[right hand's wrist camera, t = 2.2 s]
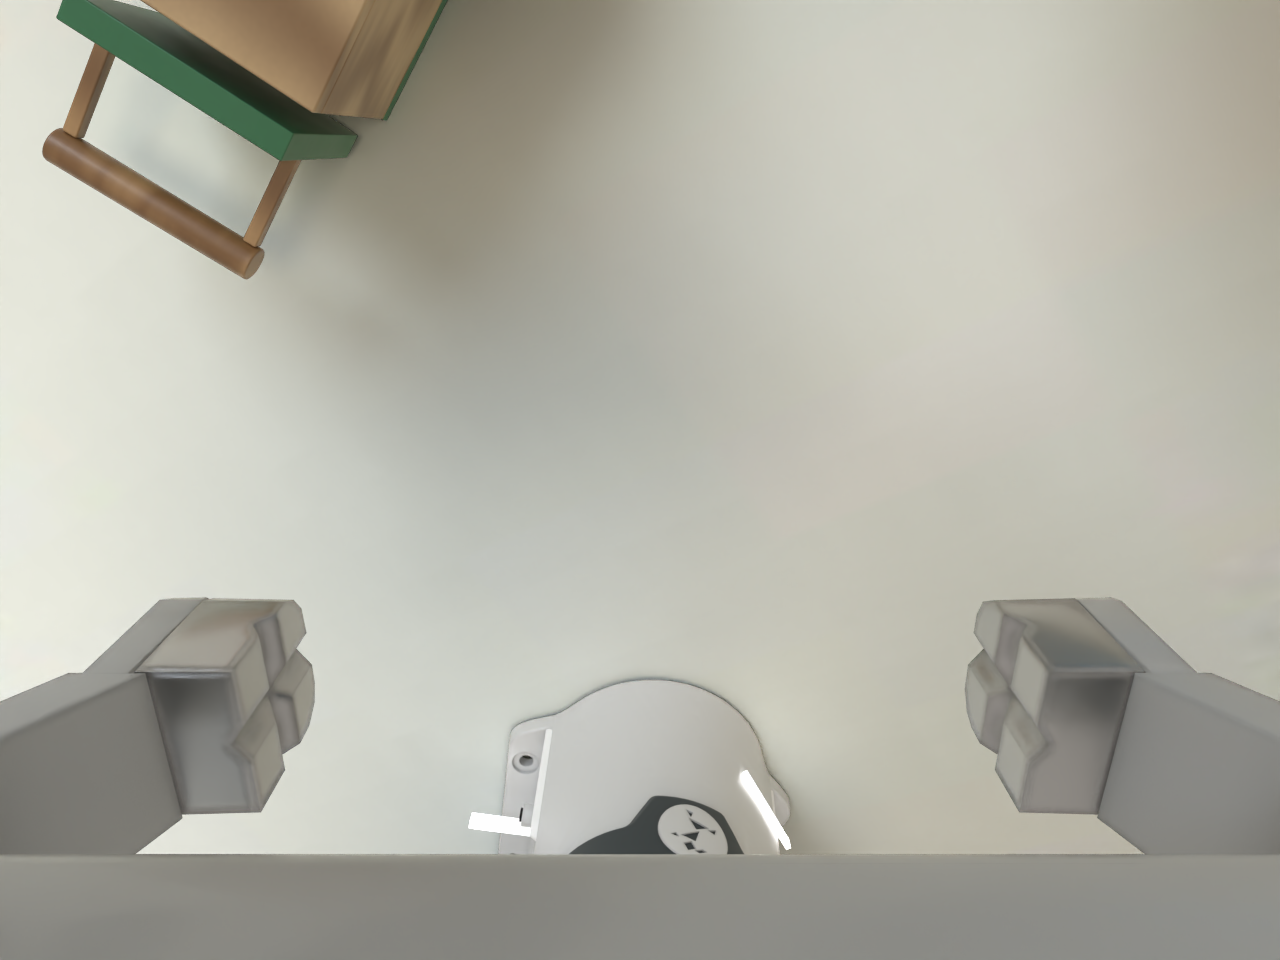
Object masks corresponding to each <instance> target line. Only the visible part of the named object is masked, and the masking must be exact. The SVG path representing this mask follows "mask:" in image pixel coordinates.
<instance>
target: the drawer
mask: <svg viewBox="0 0 1280 960" xmlns="http://www.w3.org/2000/svg"><path fill="white" fill-rule="evenodd" d="M57 19H58V20H60V21H61V22H63V23H64V24H66V25H67V26H69V27H71V28H72V29H74V30H75V31H77V32H78V33H80V34H82V35H83V36H85V37H86V38H88V39H89V40H91V41H93V42H94V43H95V44H94V47H93V49H92V52H91V55H90V57H89V60H88V63H87V65H86V68H85V71H84V73H83V76H82V79H81V81H80V84H79V87H78V89H77V92H76V95H75V97H74V100H73V103H72V105H71V108H70V111H69V113H68V116H67V119H66V121H65V124H64V127H63V128H59V129H56V130H55V131H53V132H52V133H51V134H50V135H49V136H48V137H47V139H46V141H45V143H44V146H43V156H44V158H45V159H46V160H47V161H49V162H50V163H52V164H54V165H55V166H57V167H59V168H60V169H62V170H64V171H65V172H67V173H69V174H70V175H72V176H74V177H75V178H77V179H79V180H80V181H82V182H84V183H85V184H87V185H89V186H90V187H92V188H94V189H95V190H97V191H99V192H100V193H102V194H104V195H105V196H107V197H109V198H110V199H112V200H114V201H115V202H117V203H119V204H120V205H122V206H124V207H125V208H127V209H129V210H130V211H132V212H134V213H135V214H137V215H139V216H140V217H142V218H144V219H145V220H147V221H149V222H150V223H152V224H154V225H155V226H157V227H159V228H160V229H162V230H164V231H165V232H167V233H169V234H170V235H172V236H174V237H175V238H177V239H179V240H180V241H182V242H184V243H185V244H187V245H189V246H190V247H192V248H194V249H195V250H197V251H199V252H200V253H202V254H204V255H205V256H207V257H209V258H210V259H212V260H214V261H215V262H217V263H219V264H220V265H222V266H224V267H225V268H227V269H229V270H230V271H232V272H234V273H235V274H237V275H239V276H240V277H242V278H244V279H249V278H250V277H251V276H253V275H254V273H255V272H256V271H257V270H258V268H259V267H260V265H261V263H262V260H263V258H264V250H263V249H262V248H260V247H258V246H260V245H261V244H262V242H263V239H264V237H265V235H266V233H267V231H268V229H269V227H270V225H271V223H272V221H273V219H274V216H275V214H276V212H277V210H278V208H279V206H280V204H281V202H282V200H283V198H284V195H285V193H286V191H287V189H288V187H289V185H290V183H291V181H292V179H293V177H294V174H295V172H296V170H297V168H298V166H299V164H300V162H301V160H309V159H329V158H347V157H348V154H349V152H350V150H351V148H352V146H353V144H354V142H355V140H356V138H357V134H355V133H354V132H352V131H351V130H349V129H348V128H346V127H344V126H343V125H341V124H340V123H338V122H337V121H335V120H334V119H332V118H331V117H329V116H328V115H326V114H321V113H313V112H311V111H309V110H308V109H306V108H304V107H303V106H301V105H300V104H298V103H297V102H295V101H294V100H292V99H291V98H289V97H288V96H286V95H285V94H283V93H282V92H280V91H279V90H277V89H275V88H274V87H272V86H271V85H269V84H268V83H266V82H265V81H263V80H262V79H260V78H259V77H257V76H256V75H254V74H253V73H251V72H249V71H248V70H246V69H245V68H243V67H242V66H240V65H239V64H237V63H236V62H234V61H233V60H231V59H230V58H228V57H227V56H225V55H223V54H222V53H220V52H219V51H217V50H216V49H214V48H213V47H211V46H210V45H208V44H207V43H205V42H204V41H202V40H201V39H199V38H198V37H196V36H194V35H193V34H191V33H190V32H188V31H187V30H185V29H184V28H182V27H181V26H179V25H178V24H176V23H175V22H173V21H172V20H170V19H168V18H167V17H165V16H164V15H162V14H161V13H159V12H155V11H151V10H148V9H144V8H140V7H137V6H133V5H129V4H126V3H122V2H118V1H115V0H63V1H62V3H61V6H60V9H59V12H58V15H57ZM115 56H116V57H118V58H119V59H121V60H122V61H124V62H126V63H127V64H129V65H130V66H132V67H133V68H135V69H137V70H138V71H140V72H141V73H143V74H144V75H146V76H148V77H149V78H151V79H152V80H154V81H155V82H157V83H159V84H160V85H162V86H163V87H165V88H166V89H168V90H170V91H171V92H173V93H174V94H176V95H177V96H179V97H181V98H182V99H184V100H185V101H187V102H188V103H190V104H192V105H193V106H195V107H196V108H198V109H199V110H201V111H203V112H204V113H206V114H207V115H209V116H210V117H212V118H214V119H215V120H217V121H218V122H220V123H221V124H223V125H225V126H226V127H228V128H229V129H231V130H232V131H234V132H236V133H237V134H239V135H240V136H242V137H243V138H245V139H247V140H248V141H250V142H251V143H253V144H255V145H256V146H258V147H259V148H261V149H262V150H264V151H266V152H267V153H269V154H270V155H272V156H273V157H275V158H277V159H278V160H280V161H279V163H278V166H277V168H276V170H275V172H274V174H273V176H272V178H271V181H270V183H269V185H268V187H267V189H266V191H265V193H264V195H263V198H262V200H261V202H260V204H259V206H258V208H257V210H256V213H255V215H254V217H253V219H252V221H251V223H250V225H249V227H248V230H247V232H246V234H245V236H244V237H242V236H240V235H239V234H237V233H235V232H234V231H232V230H230V229H229V228H227V227H226V226H224V225H222V224H221V223H219V222H217V221H216V220H214V219H212V218H211V217H209V216H208V215H206V214H204V213H203V212H201V211H199V210H198V209H196V208H194V207H193V206H191V205H190V204H188V203H186V202H185V201H183V200H181V199H180V198H178V197H176V196H175V195H173V194H172V193H170V192H168V191H167V190H165V189H163V188H162V187H160V186H158V185H157V184H155V183H153V182H152V181H150V180H149V179H147V178H145V177H144V176H142V175H140V174H139V173H137V172H135V171H134V170H132V169H131V168H129V167H127V166H126V165H124V164H122V163H121V162H119V161H117V160H116V159H114V158H113V157H111V156H109V155H108V154H106V153H104V152H103V151H101V150H99V149H98V148H96V147H95V146H93V145H91V144H90V143H88V142H86V141H85V140H83V139H81V138H84V136H85V134H86V131H87V129H88V126H89V123H90V121H91V118H92V116H93V113H94V110H95V108H96V105H97V103H98V100H99V97H100V95H101V92H102V90H103V87H104V84H105V82H106V79H107V77H108V74H109V71H110V69H111V66H112V64H113V61H114V58H115Z"/></svg>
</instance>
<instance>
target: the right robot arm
mask: <svg viewBox="0 0 1280 960" xmlns="http://www.w3.org/2000/svg"><path fill="white" fill-rule="evenodd" d="M305 634H306V629H305V624H304V619H303V614H302V610H301V608H300V607H299V605H298V604H297V603H296V602H295V601H294V600H273V599H220V598H212V599H208V598H171V599H163V600H159V601H158V602H157V603H156V604H155V605H154V606H153V607H152V608H151V609H150V610H149V611H148V612H147V613H145V614H144V615H143V616H142V617H141V618H140V619H139V620H138V621H137V622H136V623H135V624H134V625H133V626H132V627H131V628H130V629H129V630H128V631H126V632H125V633H124V634H123V635H122V636H121V637H120V638H119V639H118V640H117V641H116V642H115V643H114V644H113V645H112V646H111V647H110V648H109V649H107V650H106V651H105V652H104V653H103V654H102V655H101V656H100V657H99V658H98V659H97V660H96V661H95V662H94V663H93V664H92V665H91V666H89V667H88V668H87V669H86V670H85V671H84V672H83V673H68V674H65V675H63V676H60V677H58V678H56V679H53V680H51V681H48V682H46V683H44V684H41V685H39V686H36V687H34V688H32V689H29V690H27V691H24V692H22V693H20V694H17V695H15V696H13V697H10V698H8V699H5V700H3V701H1V702H0V960H1280V702H1279V701H1277V700H1274V699H1272V698H1270V697H1267V696H1265V695H1263V694H1260V693H1258V692H1255V691H1253V690H1251V689H1248V688H1246V687H1243V686H1241V685H1239V684H1236V683H1234V682H1232V681H1229V680H1227V679H1224V678H1222V677H1220V676H1217V675H1215V674H1212V673H1197V672H1196V671H1195V670H1194V669H1193V668H1192V667H1191V666H1190V665H1188V664H1187V663H1186V662H1185V661H1184V660H1183V659H1182V658H1181V657H1180V656H1179V655H1178V654H1177V653H1176V652H1175V651H1174V650H1173V649H1172V648H1171V647H1169V646H1168V645H1167V644H1166V643H1165V642H1164V641H1163V640H1162V639H1161V638H1160V637H1159V636H1158V635H1157V634H1156V633H1155V632H1154V631H1153V630H1152V629H1151V628H1149V627H1148V626H1147V625H1146V624H1145V623H1144V622H1143V621H1142V620H1141V619H1140V618H1139V617H1138V616H1137V615H1136V614H1135V613H1134V612H1133V611H1132V610H1131V609H1129V608H1128V607H1127V606H1126V605H1125V604H1124V603H1123V602H1122V601H1120V600H1117V599H1114V598H1111V597H1105V598H1082V599H1075V598H1072V599H1031V600H993V601H985V602H983V603H982V605H981V607H980V609H979V611H978V613H977V617H976V623H975V628H974V634H975V636H976V637H977V639H978V640H979V642H980V643H981V645H982V646H983V648H984V649H983V650H982V651H981V652H980V653H979V654H978V655H977V656H976V657H975V658H974V659H973V660H972V661H971V662H970V663H969V664H968V670H967V677H966V685H965V695H966V707H967V714H968V717H969V720H970V723H971V727H972V729H973V731H974V733H975V735H976V737H977V739H978V740H979V742H980V743H981V744H982V745H984V746H985V747H987V748H988V749H990V750H992V751H993V752H995V753H996V754H998V756H997V762H996V767H995V771H996V773H997V774H998V776H999V778H1000V779H1001V781H1002V783H1003V785H1004V786H1005V788H1006V790H1007V792H1008V793H1009V795H1010V797H1011V799H1012V800H1013V802H1014V804H1015V806H1016V807H1017V809H1018V811H1019V812H1026V813H1063V814H1098V817H1097V818H1098V819H1100V820H1101V821H1102V822H1103V823H1105V824H1106V825H1107V826H1109V827H1110V828H1111V829H1113V830H1114V831H1115V832H1117V833H1118V834H1119V835H1121V836H1122V837H1123V838H1125V839H1126V840H1127V841H1128V842H1130V843H1131V844H1132V845H1134V846H1135V847H1136V848H1138V849H1139V850H1140V851H1142V852H1143V853H1144V854H780V852H779V842H778V837H779V839H780V840H781V842H782V843H783V845H784V847H785V848H786V850H787V849H789V848H791V846H790V841H789V838H788V837H787V835H786V834H785V832H784V830H783V829H782V827H783V826H784V825H785V823H786V822H787V821H788V819H789V817H790V802H789V798H788V796H787V794H786V793H785V791H784V790H783V789H782V787H781V786H780V785H779V784H778V783H777V782H776V781H775V780H774V779H773V777H772V776H771V775H770V774H769V772H768V770H767V768H766V765H765V762H764V758H763V754H762V750H761V746H760V744H759V741H758V739H757V736H756V735H755V733H754V731H753V729H752V728H751V726H750V725H749V723H748V722H747V721H746V720H745V718H744V717H743V716H742V715H741V714H740V713H739V712H738V711H737V710H736V709H735V708H734V707H732V706H731V705H730V704H728V703H727V702H726V701H724V700H723V699H721V698H719V697H718V696H716V695H714V694H712V693H710V692H708V691H706V690H703V689H701V688H698V687H695V686H692V685H689V684H685V683H680V682H675V681H668V680H637V681H629V682H624V683H619V684H615V685H612V686H609V687H606V688H603V689H601V690H598V691H596V692H594V693H592V694H590V695H588V696H586V697H584V698H583V699H581V700H580V701H578V702H577V703H575V704H574V705H572V706H570V707H569V708H567V709H566V710H564V711H562V712H560V713H558V714H556V715H551V716H546V717H541V718H537V719H533V720H529V721H526V722H523V723H520V724H518V725H517V726H515V727H514V728H513V729H512V731H511V733H510V736H509V745H508V756H507V766H506V776H505V787H504V797H503V808H502V816H495V815H487V814H479V813H472V815H471V819H470V823H469V828H471V829H479V830H487V831H495V832H500V839H499V849H498V854H136V853H137V852H139V851H140V850H141V849H143V848H144V847H145V846H147V845H148V844H149V843H150V842H152V841H153V840H154V839H156V838H157V837H158V836H160V835H161V834H162V833H164V832H165V831H166V830H168V829H169V828H170V827H172V826H173V825H174V824H176V823H177V822H178V821H179V820H181V819H182V814H215V813H251V812H261V811H262V809H263V808H264V806H265V804H266V802H267V801H268V799H269V797H270V795H271V794H272V792H273V790H274V788H275V786H276V785H277V783H278V781H279V779H280V778H281V776H282V774H283V772H284V771H285V767H284V762H283V756H282V754H284V753H285V752H287V751H288V750H290V749H292V748H293V747H295V746H296V745H298V744H299V743H300V742H301V740H302V738H303V737H304V735H305V733H306V731H307V729H308V727H309V724H310V720H311V715H312V711H313V707H314V702H315V682H314V675H313V669H312V664H311V663H310V662H309V661H308V660H307V659H306V658H305V657H304V656H303V655H302V654H301V653H300V652H299V651H298V650H297V649H296V648H297V646H298V645H299V643H300V642H301V640H302V639H303V637H304V636H305ZM524 755H527V756H530V757H531V758H530V759H526V758H524V757H522V756H524Z"/></svg>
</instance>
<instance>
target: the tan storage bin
mask: <svg viewBox="0 0 1280 960" xmlns="http://www.w3.org/2000/svg"><path fill="white" fill-rule="evenodd" d="M141 1H142V2H144V3H146V4H147V5H149V6H150V7H152V8H153V9H155V10H156V11H158V12H159V13H161V14H162V15H164V16H165V17H167V18H168V19H170V20H172V21H173V22H175V23H176V24H178V25H179V26H181V27H182V28H184V29H185V30H187V31H188V32H190V33H191V34H193V35H194V36H196V37H198V38H199V39H201V40H202V41H204V42H205V43H207V44H208V45H210V46H211V47H213V48H214V49H216V50H217V51H219V52H220V53H222V54H223V55H225V56H227V57H228V58H230V59H231V60H233V61H234V62H236V63H237V64H239V65H240V66H242V67H243V68H245V69H246V70H248V71H249V72H251V73H253V74H254V75H256V76H257V77H259V78H260V79H262V80H263V81H265V82H266V83H268V84H269V85H271V86H272V87H274V88H275V89H277V90H279V91H280V92H282V93H283V94H285V95H286V96H288V97H289V98H291V99H292V100H294V101H295V102H297V103H298V104H300V105H301V106H303V107H304V108H306V109H308V110H309V111H311V112H313V113H321V114H332V115H343V116H354V117H365V118H376V119H382V120H387V119H388V117H389V115H390V113H391V111H392V109H393V107H394V105H395V103H396V101H397V99H398V97H399V95H400V93H401V91H402V90H403V88H404V86H405V84H406V82H407V80H408V78H409V76H410V74H411V72H412V70H413V68H414V66H415V64H416V62H417V60H418V58H419V56H420V54H421V52H422V50H423V48H424V46H425V44H426V42H427V40H428V38H429V36H430V34H431V32H432V30H433V28H434V26H435V24H436V22H437V20H438V18H439V16H440V14H441V12H442V10H443V8H444V6H445V4H446V2H447V0H141Z"/></svg>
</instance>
